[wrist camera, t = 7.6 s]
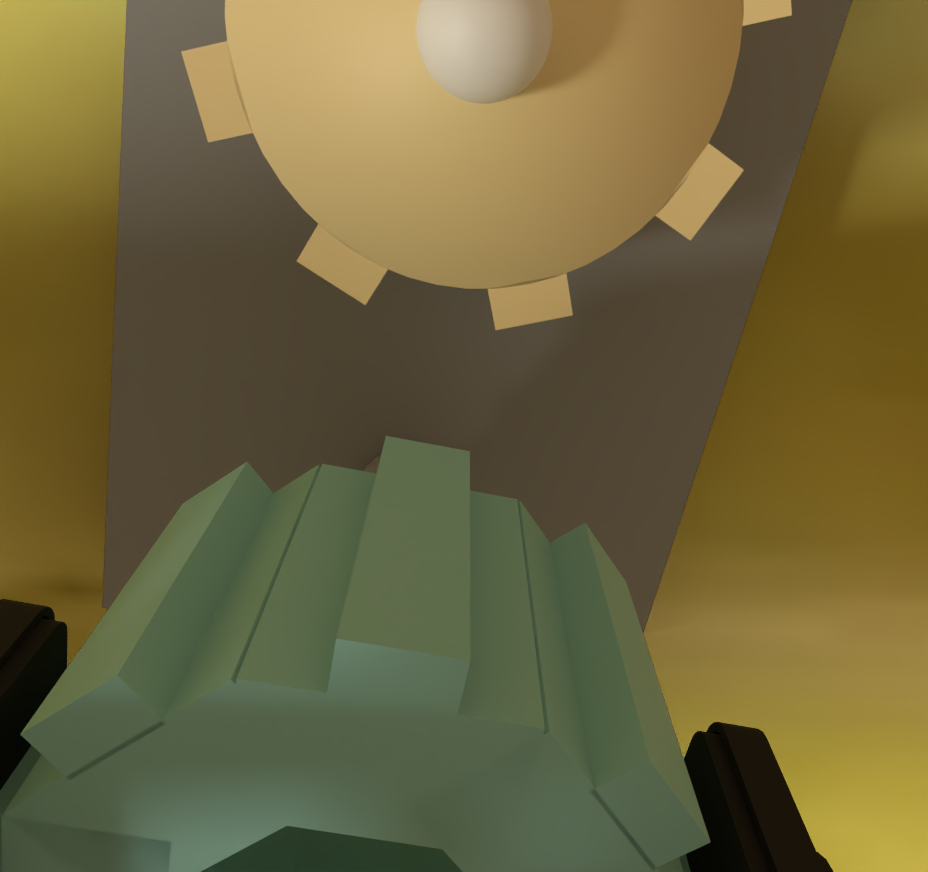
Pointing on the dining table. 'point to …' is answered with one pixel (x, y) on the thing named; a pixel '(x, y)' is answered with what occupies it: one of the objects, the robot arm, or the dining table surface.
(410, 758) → the teal gear
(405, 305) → the gear board
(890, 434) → the dining table surface
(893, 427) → the dining table surface
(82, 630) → the dining table surface
